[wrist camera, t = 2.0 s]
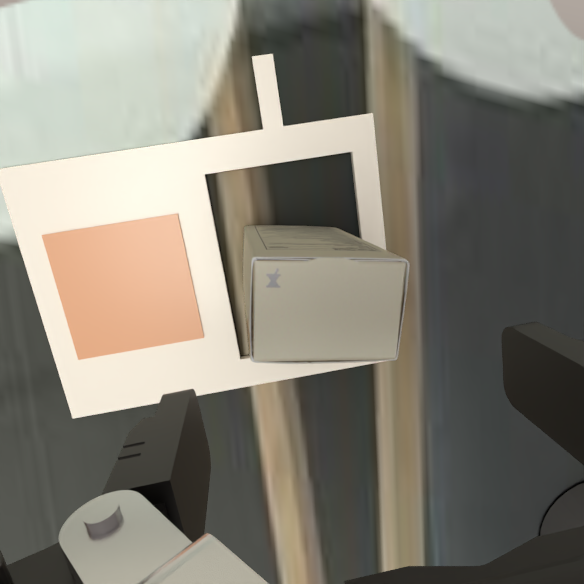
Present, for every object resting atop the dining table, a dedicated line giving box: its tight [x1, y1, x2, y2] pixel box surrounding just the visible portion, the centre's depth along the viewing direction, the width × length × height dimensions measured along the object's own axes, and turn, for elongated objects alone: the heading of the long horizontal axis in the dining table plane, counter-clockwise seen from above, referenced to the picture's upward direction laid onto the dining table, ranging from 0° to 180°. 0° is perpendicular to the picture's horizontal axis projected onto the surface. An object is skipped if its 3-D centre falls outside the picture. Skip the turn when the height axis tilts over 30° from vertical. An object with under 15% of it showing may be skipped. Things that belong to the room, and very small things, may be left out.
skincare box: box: [243, 225, 410, 364], centre depth 23 cm, size 6×4×12 cm
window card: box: [0, 54, 386, 418], centre depth 28 cm, size 22×20×1 cm
